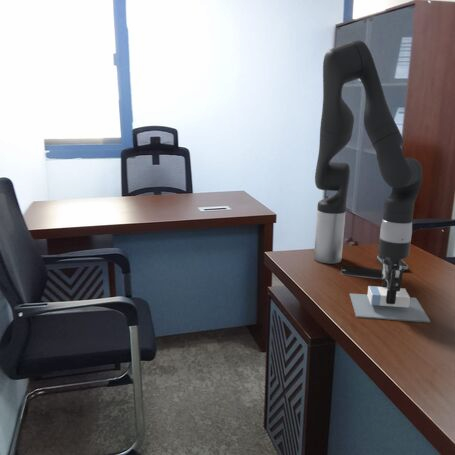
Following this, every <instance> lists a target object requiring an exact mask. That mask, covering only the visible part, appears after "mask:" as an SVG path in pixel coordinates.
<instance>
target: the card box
mask: <svg viewBox="0 0 455 455" xmlns="http://www.w3.org/2000/svg"><path fill="white" fill-rule="evenodd" d="M366 295H367V296H368V299H369V302H370V304H371V305H381V306H395V307H408V308H409V302H410V295H409V293H408V292H407V290H406V288H403V287H400V291H397V292H396V300H395V304H387V303H386V295H387V287H382V286H373V285H368V286H367V294H366Z"/></svg>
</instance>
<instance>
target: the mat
mask: <svg viewBox="0 0 455 455" xmlns="http://www.w3.org/2000/svg"><path fill="white" fill-rule="evenodd" d="M349 297H350V301H351V304H352V308H353V311H354V314H355V318H363V319H375V320H391V321H403V322H419V323H431V320H430V318H429V317H428V315H427V313H426V311H425V310H424V308H423V307H422V305H421V303H420V301H419V300H418V299H417V297H410V302H409V308H408V307H395V306H381V305H371V304H370V302H369V299H368V296H367V294H364V293H363V294H362V293H349Z"/></svg>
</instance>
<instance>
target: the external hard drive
mask: <svg viewBox="0 0 455 455" xmlns="http://www.w3.org/2000/svg"><path fill="white" fill-rule="evenodd" d="M376 261H378V263H379V264H380V265H381V266H382V256H381V255H380V254H378V255H377V256H376ZM400 264H401V270H403V272H408V270H409V265H408V264H407V263H405V261H404V260H403V259H401V260H400Z"/></svg>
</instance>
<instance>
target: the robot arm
mask: <svg viewBox="0 0 455 455" xmlns="http://www.w3.org/2000/svg"><path fill="white" fill-rule="evenodd" d="M374 60H375V59H374V58H373V56H372V53H371V51H370V48H369V47H368V45H367V44H366V43H365V42H364V41H363V40H359V39H358V40H357V39H356V40H352V41H349V42H346V43H344V44H341V45H337V46H335V47H332V48H330V49H328V50H327V51H326V52H325V55H324V58H323V62H322V88H323V89H322V91H323V92H322V94H323V95H322V96H323V98H322V110H321V111H322V112H321V120H320V127H319V128H320V129H319V145H318V146H319V148H318V156H317V162H316V166H315V167H316V168H315V173H314V174H315V175H314V184H315V186H316V188H317V189H318V190H322V191H331V192H332V191H334V192H336V193H335V194H334V195H331V196H329V197H328V198H324V199H320V200H319V201H318V203H317V210H316V211H317V212H316V222H315V223H316V225H315V238H314V240H315V241H314V253H313V259H314V260H315V261H316V262H318V263H322V264H327V265H328V264H329V265H330V264H331V265H332V264H339V263H341V262H342V258H343V246H344V234H345V233H344V232H345V221H346V210H347V201H348V200H347V199H348V191H349V183H350V176H351V170H350V165H349V164H348V163H347V162H341V161H340V162H339V161H338V162H337V161H334V162H333V161H331V160H333V158H334V157H335V156H337V155H338V154H339V152H341V151H342V150H343V149H344V148H345V147H346V146H347V145H348V144H349V142H350V141H351V138H352V136H353V129H354V124H355V123H354V122H355V117H354V113H353V112H352V110H351V108H350V107H349V105H348V104H347V103H346V102H345V101H344V99H343V95H342V91H343V87H344V86H345V84H347V83H350V82H353V81H356V80H358V79H359V80H360V82H361V84H362V86H363V88H364V92H365V93H364V94H365V102H364V113H363V125H364V130H365V132H366V135H367V137H368V139H369V140H370V142H371V145H372V147H373V148H374V151H375V154H376V159H377V163H378V168H379V172H380V174H381V177H382V180H384V182H385V183H386V184H387V185H388V187H390V188H391V189H392V190H391V193H390V195H389V196H388V197H386V199H385V201H384V206H383V213H382V220H381V224H380V230H379V232H380V233H379V241H378V248H377V249H378V250H377V253H378V255H381V256H382V265H381V269H380V270H381V275H382V279H381V280H382V283H381V287H387V295H386V303H387V304H395V300H396V292H397V291H400V288H401V286H402V280H403V274H404V271H403V270H401V264H400V260H404V259H405V260H406V259H407V258H408V257H409V256H410V252H411V242H412V235H413V217H414V209H415V202H416V200H417V197H418V195H419V192H420V188H421V185H422V180H423V166H422V165H421V163H420V161H419V160H418V159H416V158H414V157H405V155H404V153H403V149H402V146H404V137H403V136H402V133H401V131H400V130H399V127H398V125H397V123H396V121H395V118H394V117H393V115H392V112H391V111H390V108H389V105H388V102H387V100H386V98H385V94H384V93H385V92H384V90H383V87H382V83H381V80H380V76H379V74H378V70H377V66H376V63H375V61H374ZM393 284H394V285H393Z"/></svg>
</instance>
